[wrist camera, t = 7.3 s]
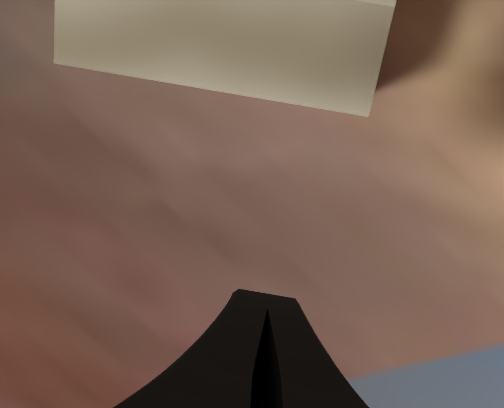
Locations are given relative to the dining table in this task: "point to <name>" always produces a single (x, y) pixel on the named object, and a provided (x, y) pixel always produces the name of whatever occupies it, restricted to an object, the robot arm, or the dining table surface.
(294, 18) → the socket board
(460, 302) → the dining table surface
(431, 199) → the dining table surface
